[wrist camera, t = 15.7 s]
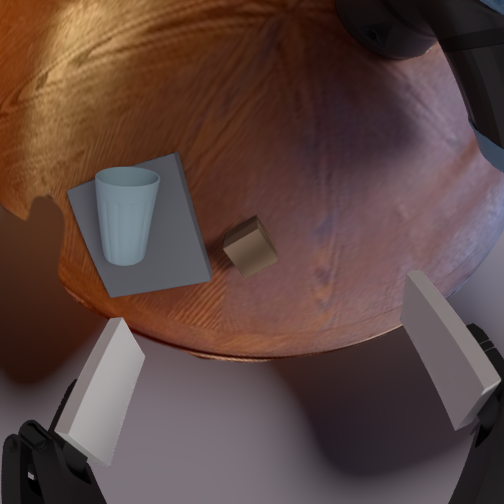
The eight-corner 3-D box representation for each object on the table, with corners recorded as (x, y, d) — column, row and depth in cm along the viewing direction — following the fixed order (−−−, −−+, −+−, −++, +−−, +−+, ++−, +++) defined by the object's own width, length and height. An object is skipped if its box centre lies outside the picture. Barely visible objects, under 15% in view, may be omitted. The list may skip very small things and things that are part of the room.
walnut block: (225, 233, 40) (223, 249, 35) (256, 214, 39) (257, 228, 34) (244, 260, 42) (245, 278, 37) (275, 243, 40) (278, 260, 36)
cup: (100, 237, 36) (102, 164, 31) (152, 240, 38) (160, 168, 34) (91, 269, 30) (88, 184, 25) (153, 272, 32) (160, 188, 27)
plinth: (75, 186, 35) (66, 191, 33) (178, 151, 34) (173, 153, 32) (116, 289, 43) (110, 297, 41) (212, 271, 42) (211, 280, 40)
